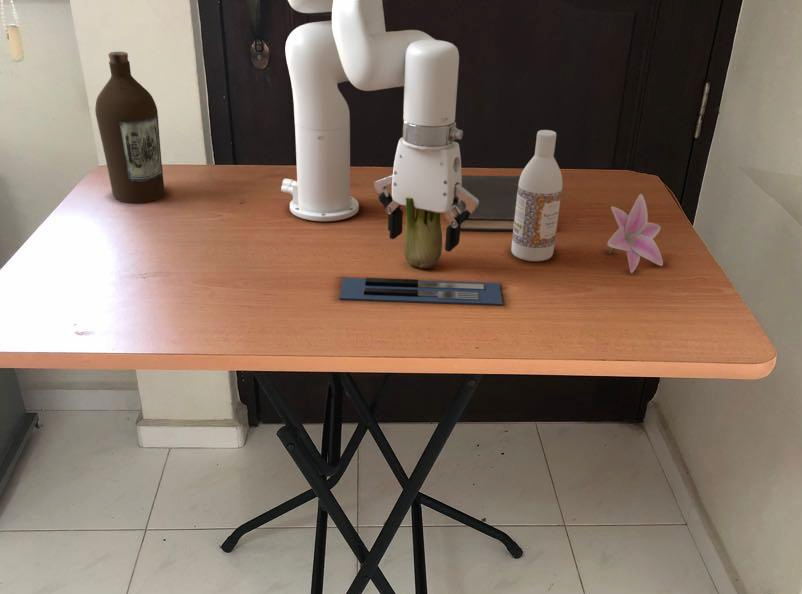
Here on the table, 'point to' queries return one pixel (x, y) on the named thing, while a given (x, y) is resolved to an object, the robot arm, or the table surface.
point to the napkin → (355, 291)
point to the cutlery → (421, 285)
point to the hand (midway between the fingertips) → (423, 242)
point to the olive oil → (129, 135)
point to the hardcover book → (491, 202)
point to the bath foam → (538, 202)
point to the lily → (636, 235)
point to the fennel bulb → (422, 237)
